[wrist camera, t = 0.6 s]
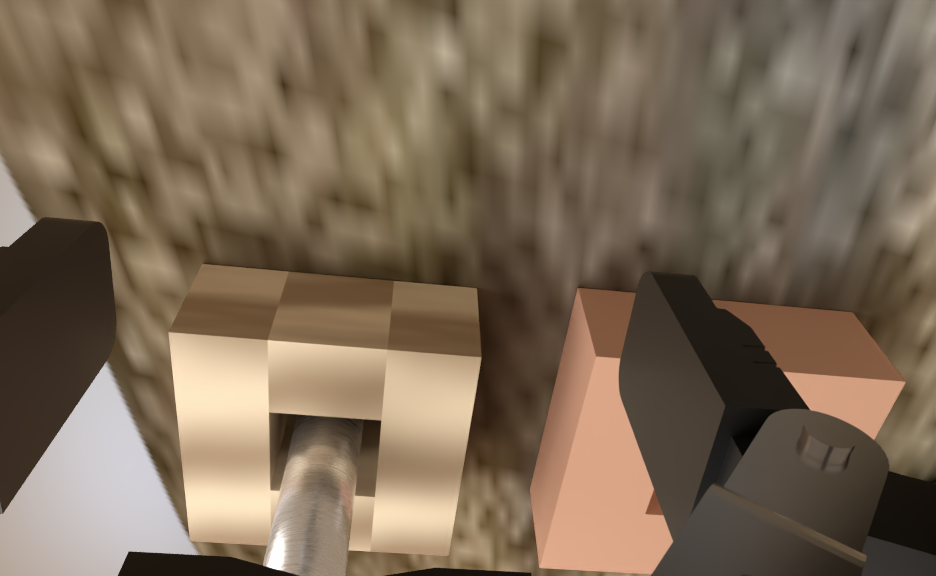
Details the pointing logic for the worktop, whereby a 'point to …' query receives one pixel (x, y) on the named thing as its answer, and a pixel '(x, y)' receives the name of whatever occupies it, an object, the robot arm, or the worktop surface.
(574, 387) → the dock block
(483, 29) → the worktop surface
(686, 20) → the worktop surface
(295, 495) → the lock pin
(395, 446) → the mount block
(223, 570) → the robot arm
